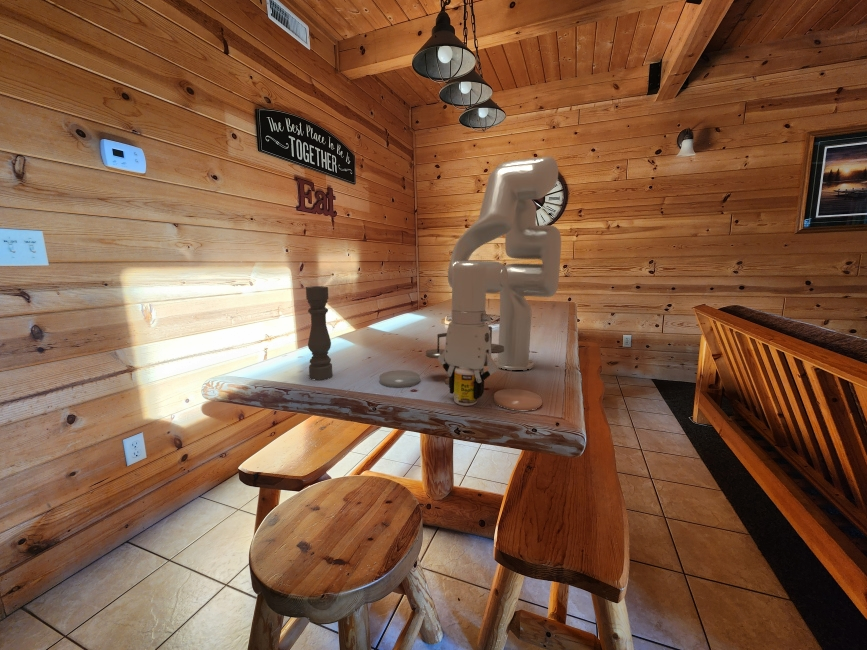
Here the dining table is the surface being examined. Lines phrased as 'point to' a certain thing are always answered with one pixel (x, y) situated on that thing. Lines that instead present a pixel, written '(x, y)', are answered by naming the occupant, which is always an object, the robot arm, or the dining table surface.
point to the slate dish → (399, 378)
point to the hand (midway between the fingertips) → (465, 393)
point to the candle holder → (319, 333)
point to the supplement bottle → (464, 386)
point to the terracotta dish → (517, 399)
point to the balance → (437, 352)
